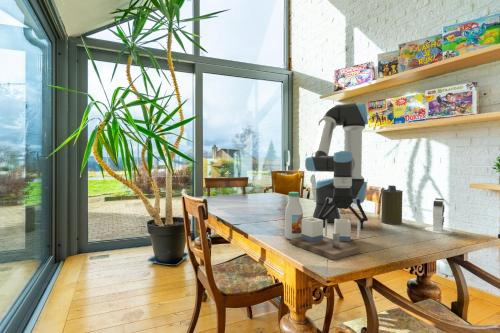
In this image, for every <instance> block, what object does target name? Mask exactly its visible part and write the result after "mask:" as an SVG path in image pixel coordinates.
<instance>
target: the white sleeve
mask: <svg viewBox="0 0 500 333" xmlns="http://www.w3.org/2000/svg"><path fill="white" fill-rule="evenodd" d="M333 223H334V226H333V227H334V228H333V229H334V231H333V233H339V241H340V242H351V240H352V239H351V234H352V232H351V231H352V230H351V225H352V223H351V221H350V219H348V218H347V219H346V218H345V219H344V218H341V219H334V222H333Z"/></svg>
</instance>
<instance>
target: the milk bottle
mask: <svg viewBox="0 0 500 333" xmlns="http://www.w3.org/2000/svg"><path fill="white" fill-rule="evenodd" d="M299 199H300V192H298V191H289V192H288V202H287V205H286V206H285V211H284V214H285V215H284V237H285V239H287V240H291V239H293V238H298V237H302V219H304V218H303V217H304V213H303V207H302V205H301V202H300V200H299Z"/></svg>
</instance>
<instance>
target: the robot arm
mask: <svg viewBox="0 0 500 333" xmlns="http://www.w3.org/2000/svg"><path fill="white" fill-rule="evenodd" d="M368 117H369V116H368V111H367V106H366V103H364V102H352V103H344V104H343V103H342V104H334V105H332V106H330V107H327V109H325V111H323V113H322V114H321V116H320V117H319V120H318V127H319V128H318V131H317V133H316V134H317V136H316V139H315V143H314V146H313V150H312V154H311V155H307V156H306V157H305V161H304V162H305V163H304V165H305V166H304V167H305V170H306V171H307V172H313V173H315V172H316V173H317V172H329V173H333V178H332V177H331V178H324V179H322V178H321V179H318V180H317V181H316V185H315V209H314V211H313V214H312V218H317V219H321V220H323V229H324V237H327V236H328V223H334V219H342V218H341V215H340V211H339V210H342V209H344V210H347V209H349V210H350V211H351V212H352V213H353V214H354V216H355V217H356V218H357V219H358V220H357V232H356V233H357V234H356V235H357V238H358V239H360V238H361V230H362V231H363V230H364V222H368V221H369V219H368V217H367V215H366V212H365V211H364V208H363V206H362V205H361V204H363V203H364V202H365V199H366V195H367V194H366V193H367V188H368V182H367V181H365V177H364V176H363V175H362V163H363V162H362V160H363V158H362V154H363V152H362V150H363V149H362V148H363V145H362V144H363V130H365V129H366V126H367V125H368V124H369V118H368ZM337 126H339V127H341V126H342V130H343V131H344V132H345V133H344V134H345V135H344V138H345V139H344V142H345V143H344V150H336V151H334V153H333V155H329V153H330V148H331V142H332V138H333V134H334V130H335V129H336V127H337ZM352 204H356V206H357V208H358V210H359V212H360V214H358V212H357V211H356V210H355V209H354V208H353V206H351V205H352ZM360 215H361V216H362V217H361V216H360Z"/></svg>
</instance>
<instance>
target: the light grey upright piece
mask: <svg viewBox="0 0 500 333" xmlns="http://www.w3.org/2000/svg"><path fill="white" fill-rule="evenodd" d="M444 200H445V199H444V198H438V197H435V199H434V200H433V204H432V205H433V208H432V219H433V220H432V222H433V223H432V226H426V227H424V229H423V230H424V231H426V232H429V233H434V234H441V235H442V234H444V235H447V234H448V235H449V234H452V233H453V230H451V229H448V228H444V223H445V216H444V214H445V204H444V203H445V202H444Z"/></svg>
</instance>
